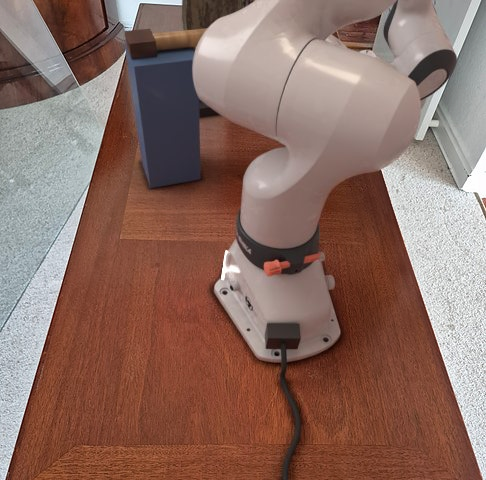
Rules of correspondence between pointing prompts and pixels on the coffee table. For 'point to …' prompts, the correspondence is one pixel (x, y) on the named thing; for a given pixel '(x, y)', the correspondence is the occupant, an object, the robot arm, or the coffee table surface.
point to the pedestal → (166, 116)
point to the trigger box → (205, 110)
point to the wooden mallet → (159, 41)
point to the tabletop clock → (206, 12)
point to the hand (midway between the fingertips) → (313, 47)
